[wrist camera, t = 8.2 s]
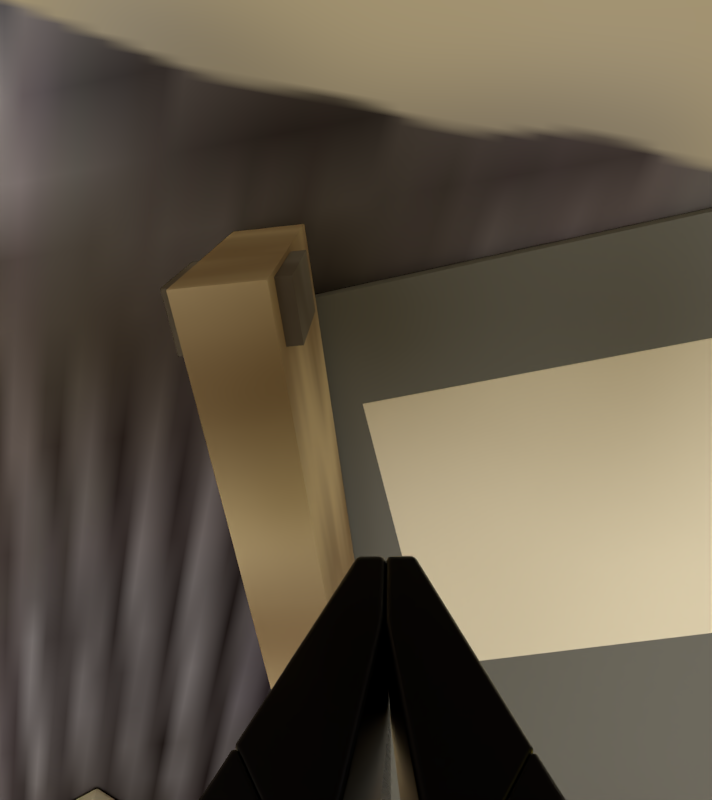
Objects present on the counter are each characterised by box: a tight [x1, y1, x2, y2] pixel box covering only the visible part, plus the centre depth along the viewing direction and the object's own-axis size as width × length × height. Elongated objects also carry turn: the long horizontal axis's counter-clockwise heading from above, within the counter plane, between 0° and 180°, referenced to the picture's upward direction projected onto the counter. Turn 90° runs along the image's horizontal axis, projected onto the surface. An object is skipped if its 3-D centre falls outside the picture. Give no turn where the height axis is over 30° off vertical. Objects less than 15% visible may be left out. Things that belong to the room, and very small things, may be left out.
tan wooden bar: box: [160, 224, 355, 689], centre depth 15 cm, size 15×2×4 cm, turn 7°
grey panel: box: [315, 208, 712, 800], centre depth 20 cm, size 16×30×1 cm, turn 13°
